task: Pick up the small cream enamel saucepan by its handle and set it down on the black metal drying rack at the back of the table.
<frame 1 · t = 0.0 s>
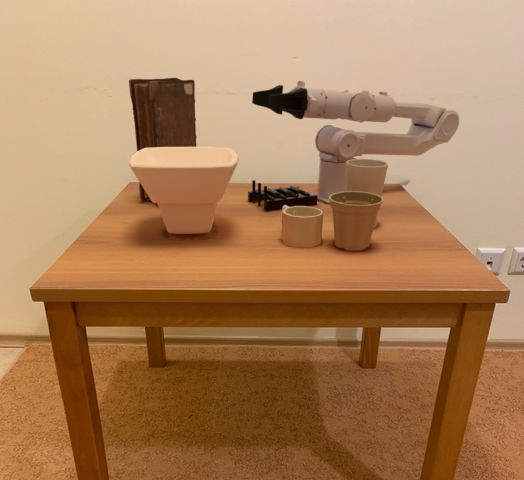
hand: (261, 99, 103), 22 cm above the table, tool horizontal, fingers open, 7 cm apart
book: (174, 198, 121), on the table
saucepan: (301, 240, 95), on the table
cup: (360, 225, 104), on the table
bowl: (189, 232, 99), on the table
rack: (282, 203, 117), on the table
flower pot: (351, 246, 93), on the table
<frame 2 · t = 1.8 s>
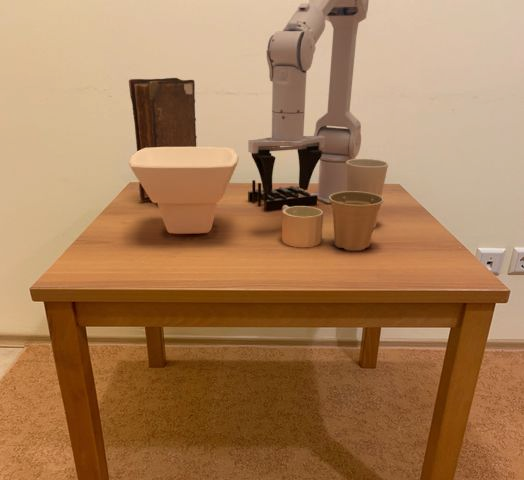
hand: (285, 190, 96), 8 cm above the table, tool pointing down, fingers open, 7 cm apart
nothing on the table moved.
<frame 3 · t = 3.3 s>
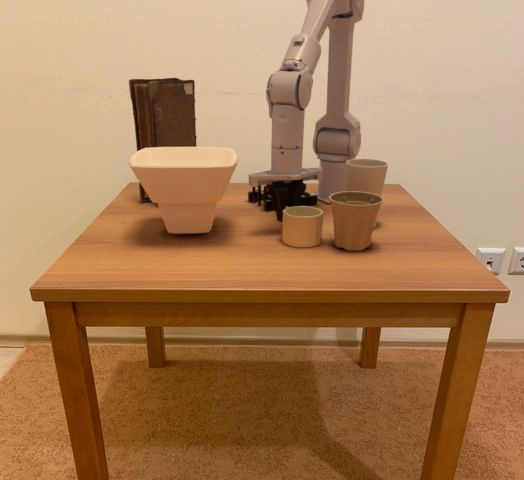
hand: (284, 220, 99), 2 cm above the table, tool pointing down, fingers closed on saucepan
saucepan: (301, 240, 95), on the table, touching gripper
everything else where it was.
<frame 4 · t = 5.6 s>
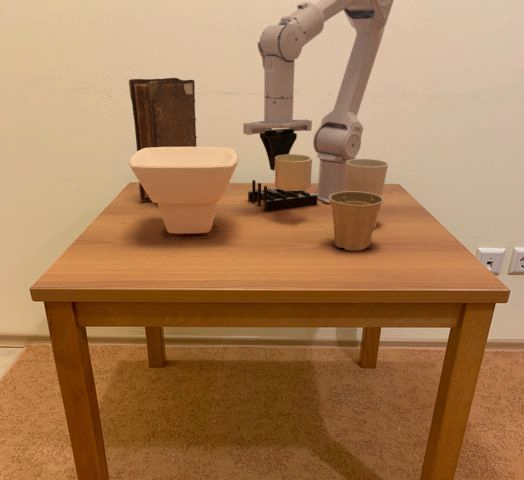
hand: (277, 169, 107), 9 cm above the table, tool pointing down, fingers closed on saucepan
saucepan: (292, 186, 103), point 7 cm above the table, touching gripper
everything else where it was.
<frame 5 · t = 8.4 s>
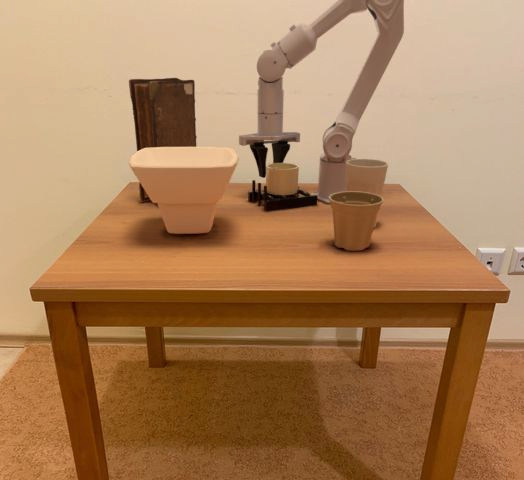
hand: (269, 176, 120), 5 cm above the table, tool pointing down, fingers open, 3 cm apart
saucepan: (281, 191, 116), point 3 cm above the table, touching rack
everything else where it was.
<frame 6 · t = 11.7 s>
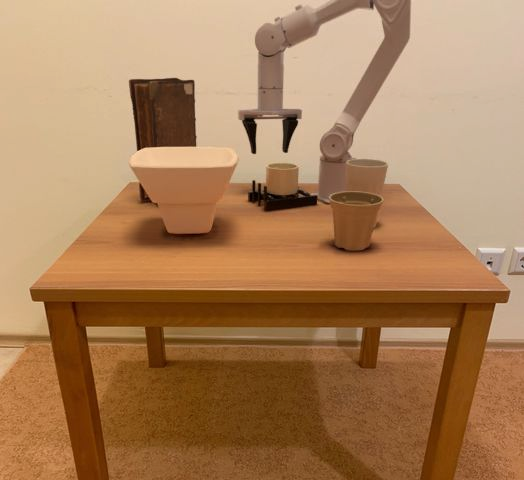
hand: (269, 152, 120), 9 cm above the table, tool pointing down, fingers open, 7 cm apart
nothing on the table moved.
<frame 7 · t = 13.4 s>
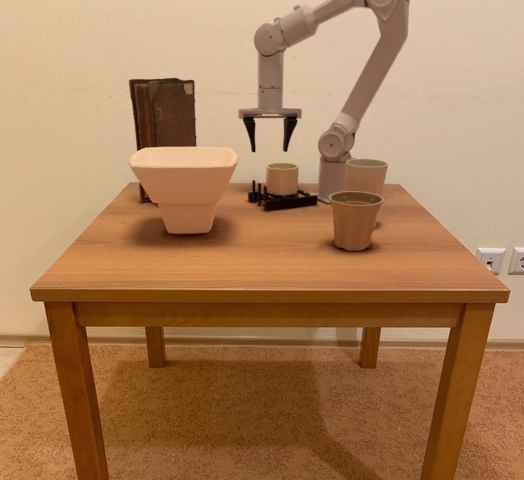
hand: (269, 151, 122), 9 cm above the table, tool pointing down, fingers open, 7 cm apart
nothing on the table moved.
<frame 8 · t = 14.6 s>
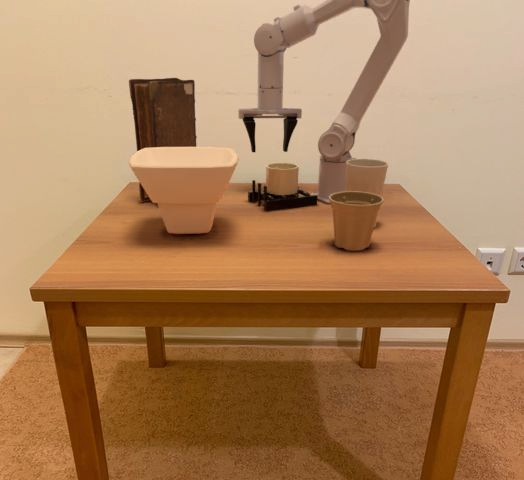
hand: (269, 151, 122), 9 cm above the table, tool pointing down, fingers open, 7 cm apart
nothing on the table moved.
at the end: saucepan 0.2 cm off-centre on the rack, point 2.7 cm above the rack's base; saucepan tilted 0°; the gripper is holding nothing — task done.
